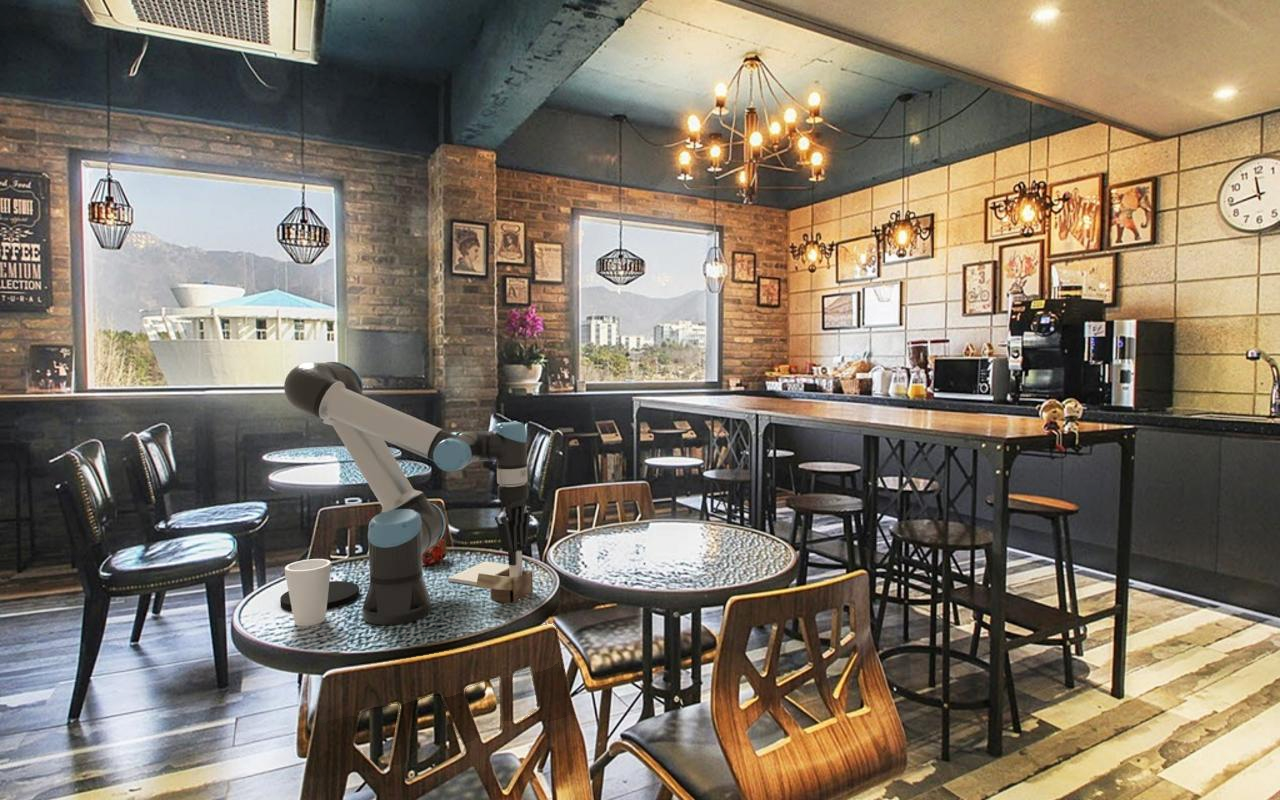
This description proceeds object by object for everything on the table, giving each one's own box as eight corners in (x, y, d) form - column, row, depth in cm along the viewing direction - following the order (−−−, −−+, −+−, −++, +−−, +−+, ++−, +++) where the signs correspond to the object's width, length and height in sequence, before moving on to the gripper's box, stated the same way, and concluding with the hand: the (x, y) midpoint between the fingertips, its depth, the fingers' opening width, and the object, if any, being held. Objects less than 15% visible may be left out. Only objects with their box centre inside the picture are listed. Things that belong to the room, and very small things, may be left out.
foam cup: (321, 610, 162) (319, 556, 161) (340, 619, 156) (338, 563, 155) (279, 622, 154) (277, 566, 154) (298, 632, 149) (296, 573, 148)
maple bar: (493, 589, 159) (495, 575, 160) (476, 586, 161) (478, 573, 162) (525, 591, 172) (527, 579, 172) (508, 589, 174) (510, 577, 174)
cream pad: (484, 587, 178) (484, 583, 177) (448, 581, 182) (448, 577, 182) (519, 569, 192) (519, 566, 192) (484, 564, 197) (484, 561, 197)
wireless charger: (370, 588, 178) (370, 580, 178) (339, 613, 161) (339, 605, 160) (303, 588, 179) (303, 581, 179) (265, 613, 161) (265, 605, 161)
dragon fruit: (439, 561, 206) (431, 579, 195) (415, 546, 205) (405, 564, 193) (455, 539, 206) (448, 556, 194) (431, 524, 204) (422, 540, 192)
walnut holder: (513, 603, 165) (512, 581, 165) (488, 599, 168) (488, 577, 168) (532, 592, 173) (532, 571, 172) (509, 589, 176) (508, 568, 175)
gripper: (509, 489, 163) (513, 586, 164) (539, 480, 175) (542, 570, 176) (484, 487, 166) (487, 582, 167) (515, 478, 178) (518, 567, 179)
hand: (516, 576), depth 172 cm, fingers closed
